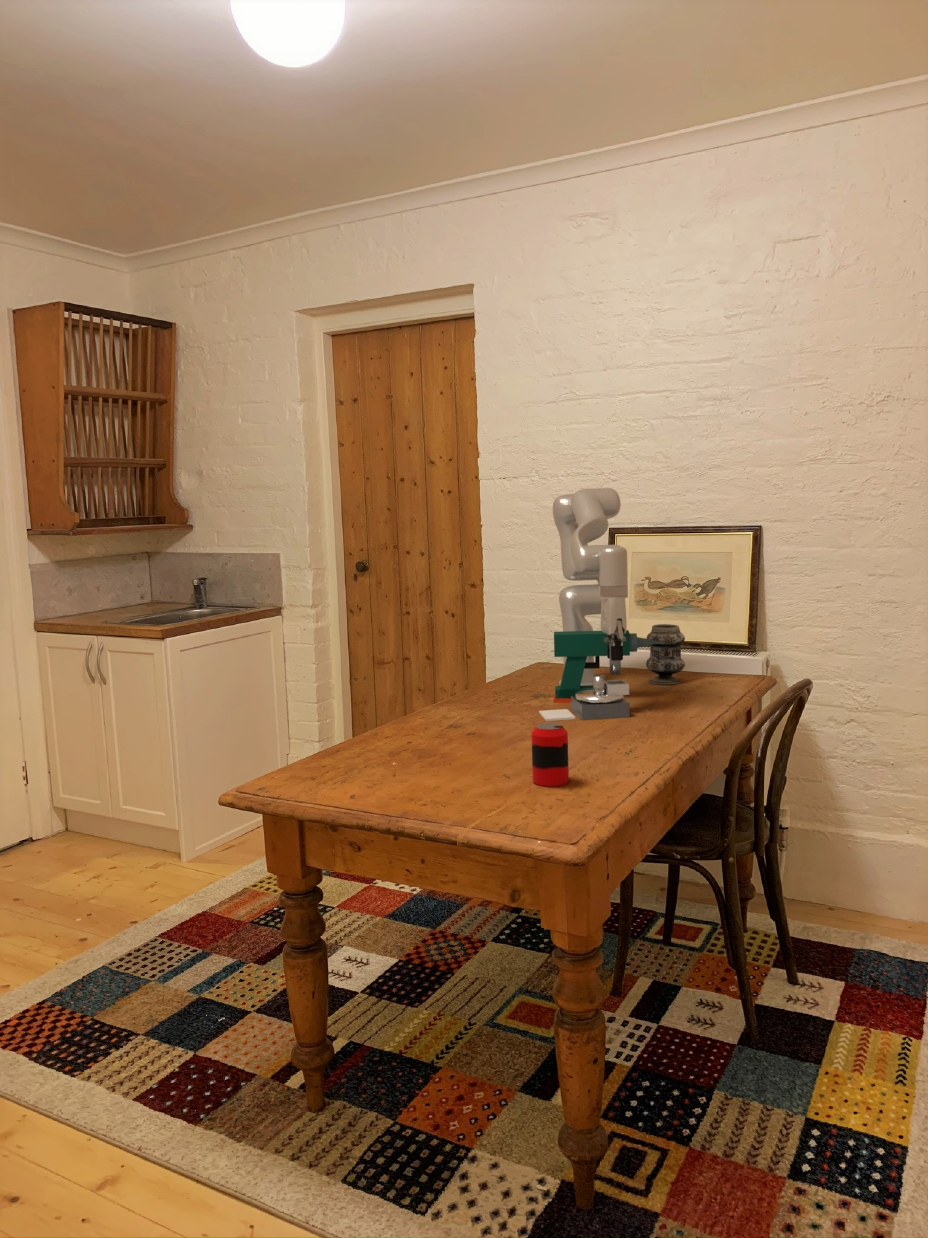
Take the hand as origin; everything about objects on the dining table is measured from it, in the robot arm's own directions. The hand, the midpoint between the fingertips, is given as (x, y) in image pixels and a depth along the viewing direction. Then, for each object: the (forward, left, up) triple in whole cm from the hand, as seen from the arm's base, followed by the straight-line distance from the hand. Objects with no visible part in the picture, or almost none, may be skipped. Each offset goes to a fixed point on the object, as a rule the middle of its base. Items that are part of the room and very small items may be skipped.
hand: (615, 658), depth 261 cm
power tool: (-17, +2, -15) cm, 23 cm away
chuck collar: (0, -4, -11) cm, 11 cm away
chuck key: (0, 0, -4) cm, 4 cm away
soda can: (+59, -31, -15) cm, 68 cm away
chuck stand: (0, -5, -15) cm, 16 cm away
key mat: (0, -17, -15) cm, 22 cm away
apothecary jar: (-37, +26, -15) cm, 48 cm away
